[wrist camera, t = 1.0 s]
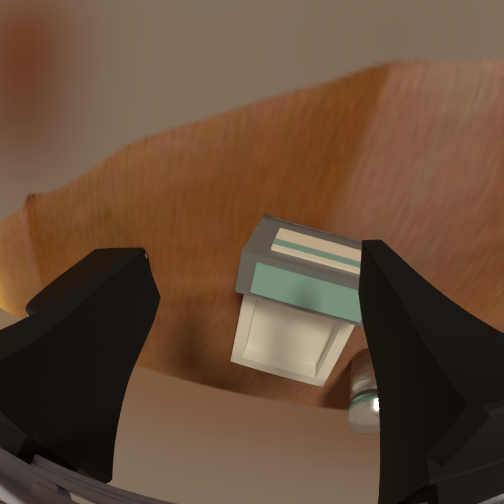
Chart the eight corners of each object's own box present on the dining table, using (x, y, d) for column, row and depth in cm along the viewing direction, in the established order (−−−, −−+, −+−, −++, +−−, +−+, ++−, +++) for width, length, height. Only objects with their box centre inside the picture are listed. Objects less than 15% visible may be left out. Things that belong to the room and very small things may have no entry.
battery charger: (105, 279, 31) (36, 346, 21) (94, 247, 30) (16, 309, 20) (158, 281, 29) (88, 362, 19) (147, 245, 28) (65, 320, 18)
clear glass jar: (399, 352, 26) (405, 411, 20) (381, 379, 28) (382, 436, 22) (360, 343, 27) (359, 404, 21) (344, 371, 29) (339, 429, 23)
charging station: (380, 244, 22) (392, 291, 17) (324, 370, 29) (317, 421, 24) (265, 211, 24) (241, 249, 18) (237, 345, 30) (216, 393, 25)
